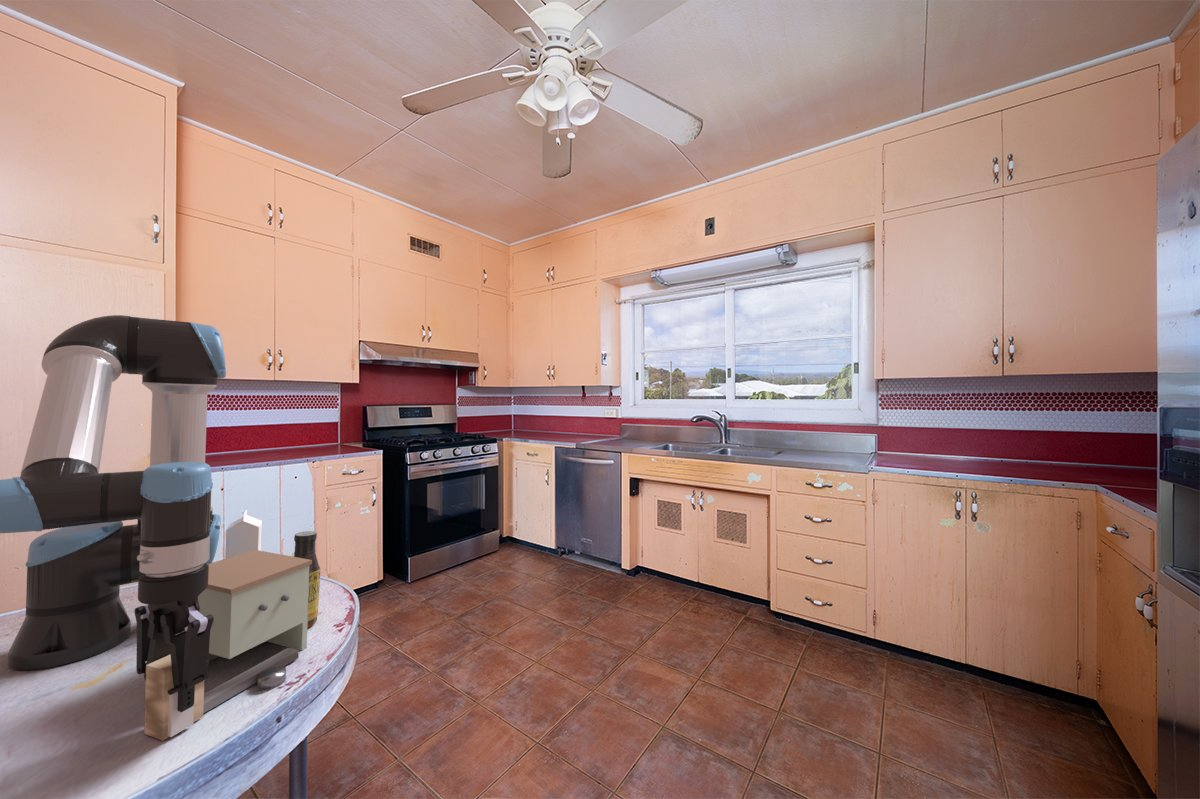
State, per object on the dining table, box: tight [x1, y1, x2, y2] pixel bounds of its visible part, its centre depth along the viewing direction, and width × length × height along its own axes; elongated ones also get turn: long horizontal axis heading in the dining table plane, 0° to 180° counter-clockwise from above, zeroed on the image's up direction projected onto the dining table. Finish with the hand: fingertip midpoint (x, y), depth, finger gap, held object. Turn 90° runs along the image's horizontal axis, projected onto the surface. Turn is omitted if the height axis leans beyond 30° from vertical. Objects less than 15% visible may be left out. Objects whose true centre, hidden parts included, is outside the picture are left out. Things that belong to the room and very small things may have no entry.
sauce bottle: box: [293, 530, 321, 629], centre depth 95 cm, size 7×6×20 cm
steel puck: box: [256, 666, 287, 691], centre depth 76 cm, size 4×4×2 cm
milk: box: [224, 509, 263, 559], centre depth 104 cm, size 6×6×22 cm
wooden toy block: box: [144, 647, 300, 741], centre depth 73 cm, size 4×21×10 cm, turn 163°
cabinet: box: [176, 550, 312, 662], centre depth 83 cm, size 16×15×17 cm
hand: (169, 725), depth 65 cm, fingers closed on wooden toy block, 4 cm apart
